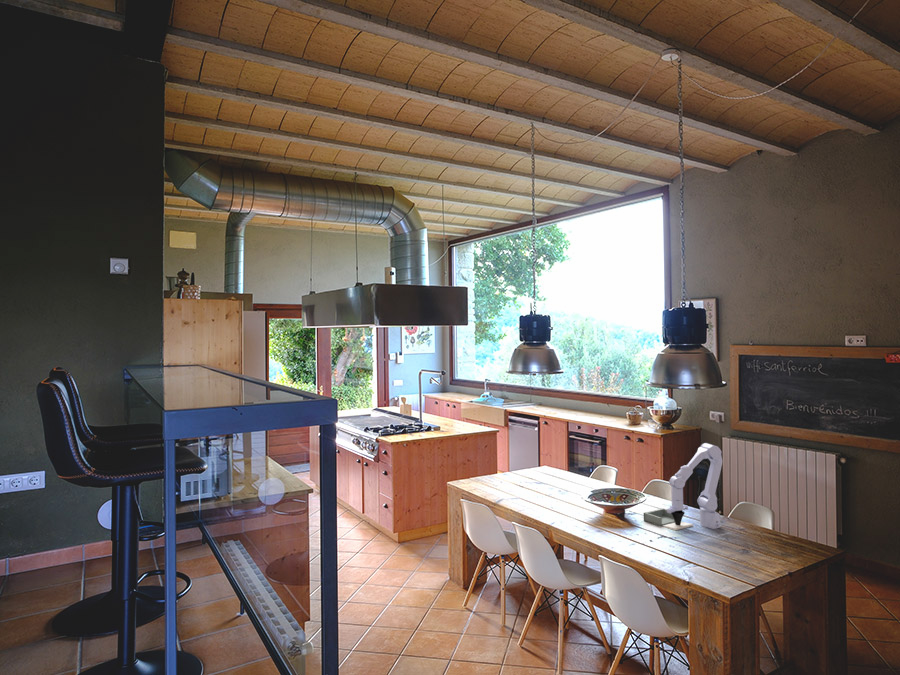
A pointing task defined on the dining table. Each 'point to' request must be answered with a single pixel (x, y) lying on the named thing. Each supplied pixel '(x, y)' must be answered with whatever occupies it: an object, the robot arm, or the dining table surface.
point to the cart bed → (659, 517)
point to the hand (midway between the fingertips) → (677, 524)
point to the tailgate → (678, 526)
